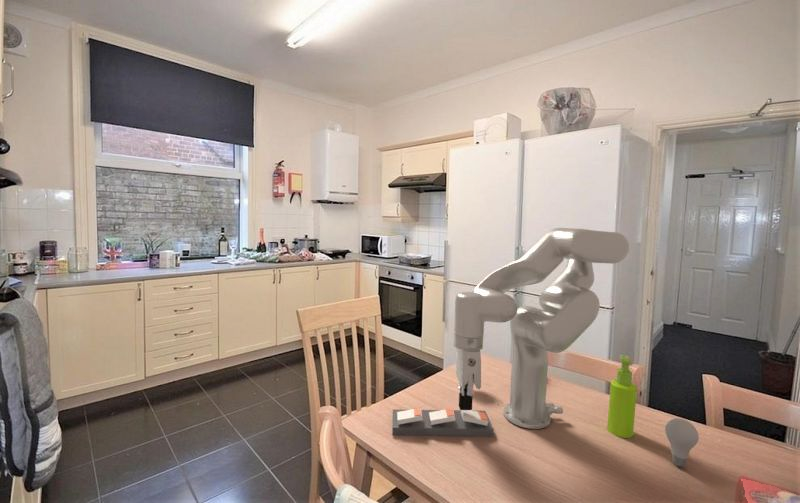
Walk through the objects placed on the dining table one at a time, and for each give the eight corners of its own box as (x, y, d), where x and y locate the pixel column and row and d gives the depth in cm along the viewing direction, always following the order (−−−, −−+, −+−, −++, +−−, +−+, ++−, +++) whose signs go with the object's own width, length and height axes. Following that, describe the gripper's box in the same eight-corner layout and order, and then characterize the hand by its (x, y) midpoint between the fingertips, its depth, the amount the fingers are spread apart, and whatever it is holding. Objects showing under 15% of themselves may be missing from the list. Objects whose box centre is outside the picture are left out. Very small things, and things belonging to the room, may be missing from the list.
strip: (484, 417, 103) (485, 408, 103) (493, 436, 94) (493, 426, 94) (392, 416, 103) (392, 407, 103) (392, 435, 94) (392, 425, 94)
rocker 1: (421, 411, 98) (420, 406, 98) (422, 420, 94) (421, 414, 94) (398, 416, 98) (397, 411, 98) (398, 424, 94) (397, 419, 94)
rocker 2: (483, 417, 99) (484, 412, 99) (487, 425, 95) (488, 420, 95) (460, 412, 98) (461, 407, 98) (463, 420, 95) (464, 415, 94)
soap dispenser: (630, 426, 100) (636, 355, 98) (634, 440, 94) (640, 364, 92) (606, 421, 103) (611, 352, 101) (608, 434, 96) (614, 360, 95)
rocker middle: (453, 412, 98) (452, 407, 98) (455, 420, 94) (454, 415, 94) (429, 416, 98) (428, 411, 98) (431, 425, 95) (430, 420, 94)
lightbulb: (684, 478, 80) (689, 430, 79) (656, 460, 86) (660, 416, 85) (701, 470, 83) (706, 424, 82) (672, 454, 88) (676, 411, 87)
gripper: (490, 351, 87) (486, 424, 89) (476, 332, 102) (473, 395, 104) (458, 350, 87) (455, 424, 89) (449, 331, 102) (447, 394, 104)
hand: (465, 408), depth 96 cm, fingers closed
